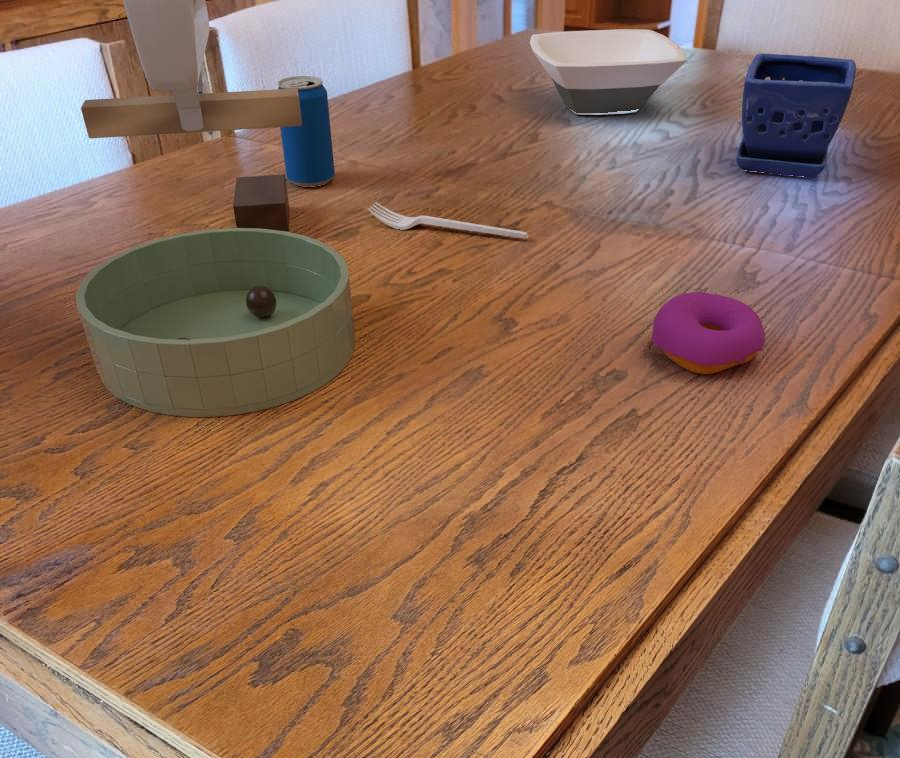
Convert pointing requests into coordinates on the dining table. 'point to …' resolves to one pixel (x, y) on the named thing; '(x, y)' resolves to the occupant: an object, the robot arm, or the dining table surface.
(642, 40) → the bowl
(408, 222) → the fork
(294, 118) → the stirring stick
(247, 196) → the block
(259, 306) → the bead
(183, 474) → the dining table surface
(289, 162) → the beverage can
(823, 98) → the flower pot
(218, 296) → the green round basin
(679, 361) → the donut
